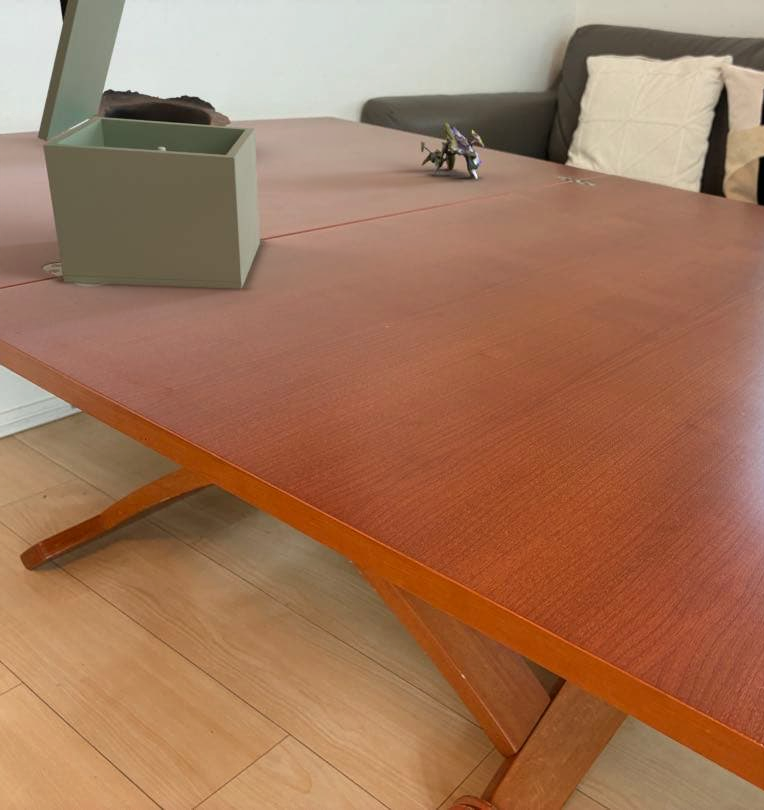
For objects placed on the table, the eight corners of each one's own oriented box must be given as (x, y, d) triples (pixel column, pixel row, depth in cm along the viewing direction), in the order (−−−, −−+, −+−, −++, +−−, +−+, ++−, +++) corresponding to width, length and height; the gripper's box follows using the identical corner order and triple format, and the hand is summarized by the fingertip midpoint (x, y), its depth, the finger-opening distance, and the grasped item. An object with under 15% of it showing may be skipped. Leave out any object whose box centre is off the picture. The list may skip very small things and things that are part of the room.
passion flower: (470, 208, 161) (494, 164, 152) (415, 196, 157) (437, 150, 147) (465, 164, 166) (488, 119, 157) (412, 151, 162) (432, 104, 153)
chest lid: (138, -52, 93) (130, -56, 93) (91, -56, 77) (81, -61, 77) (97, 114, 99) (89, 110, 99) (46, 141, 84) (37, 137, 83)
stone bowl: (129, 132, 164) (128, 81, 160) (253, 158, 163) (255, 109, 159) (45, 150, 142) (41, 92, 138) (187, 181, 141) (188, 124, 137)
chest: (260, 244, 110) (254, 128, 103) (241, 291, 94) (234, 157, 87) (109, 237, 106) (94, 116, 100) (64, 284, 90) (42, 144, 84)
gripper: (-59, -268, 73) (-8, 30, 83) (105, -243, 75) (135, 43, 86) (-24, -249, 79) (19, 26, 90) (126, -227, 82) (151, 37, 92)
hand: (76, 34), depth 88 cm, fingers closed
